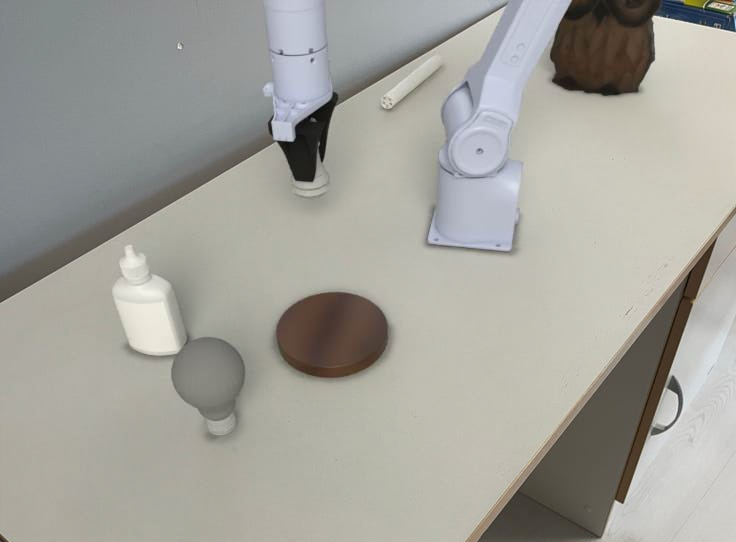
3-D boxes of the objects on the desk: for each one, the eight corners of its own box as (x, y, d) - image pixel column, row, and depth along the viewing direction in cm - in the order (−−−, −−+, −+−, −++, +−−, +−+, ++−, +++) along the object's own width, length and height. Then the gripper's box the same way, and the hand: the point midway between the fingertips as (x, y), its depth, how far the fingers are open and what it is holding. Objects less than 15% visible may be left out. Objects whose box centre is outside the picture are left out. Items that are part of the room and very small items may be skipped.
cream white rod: (435, 62, 117) (435, 48, 115) (446, 65, 116) (447, 50, 115) (380, 107, 107) (380, 92, 105) (392, 110, 106) (392, 95, 104)
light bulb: (191, 405, 66) (167, 324, 59) (256, 399, 66) (240, 318, 59) (186, 456, 62) (160, 377, 55) (255, 450, 62) (238, 370, 55)
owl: (649, 94, 106) (688, -56, 92) (570, 106, 104) (598, -45, 90) (608, 61, 115) (639, -81, 101) (535, 71, 113) (555, -72, 99)
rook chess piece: (325, 201, 78) (320, 134, 73) (286, 198, 79) (278, 131, 73) (334, 180, 81) (330, 113, 76) (297, 177, 82) (289, 111, 76)
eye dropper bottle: (160, 369, 69) (128, 271, 61) (124, 345, 72) (89, 248, 64) (194, 344, 72) (168, 246, 63) (158, 321, 74) (128, 225, 66)
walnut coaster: (396, 308, 74) (396, 297, 73) (376, 385, 67) (375, 374, 66) (294, 297, 76) (293, 286, 75) (264, 370, 69) (261, 359, 68)
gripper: (280, 14, 75) (293, 135, 84) (233, 73, 65) (254, 202, 74) (345, 17, 73) (351, 140, 83) (308, 78, 63) (319, 209, 73)
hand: (309, 170), depth 79 cm, fingers closed on rook chess piece, 3 cm apart
